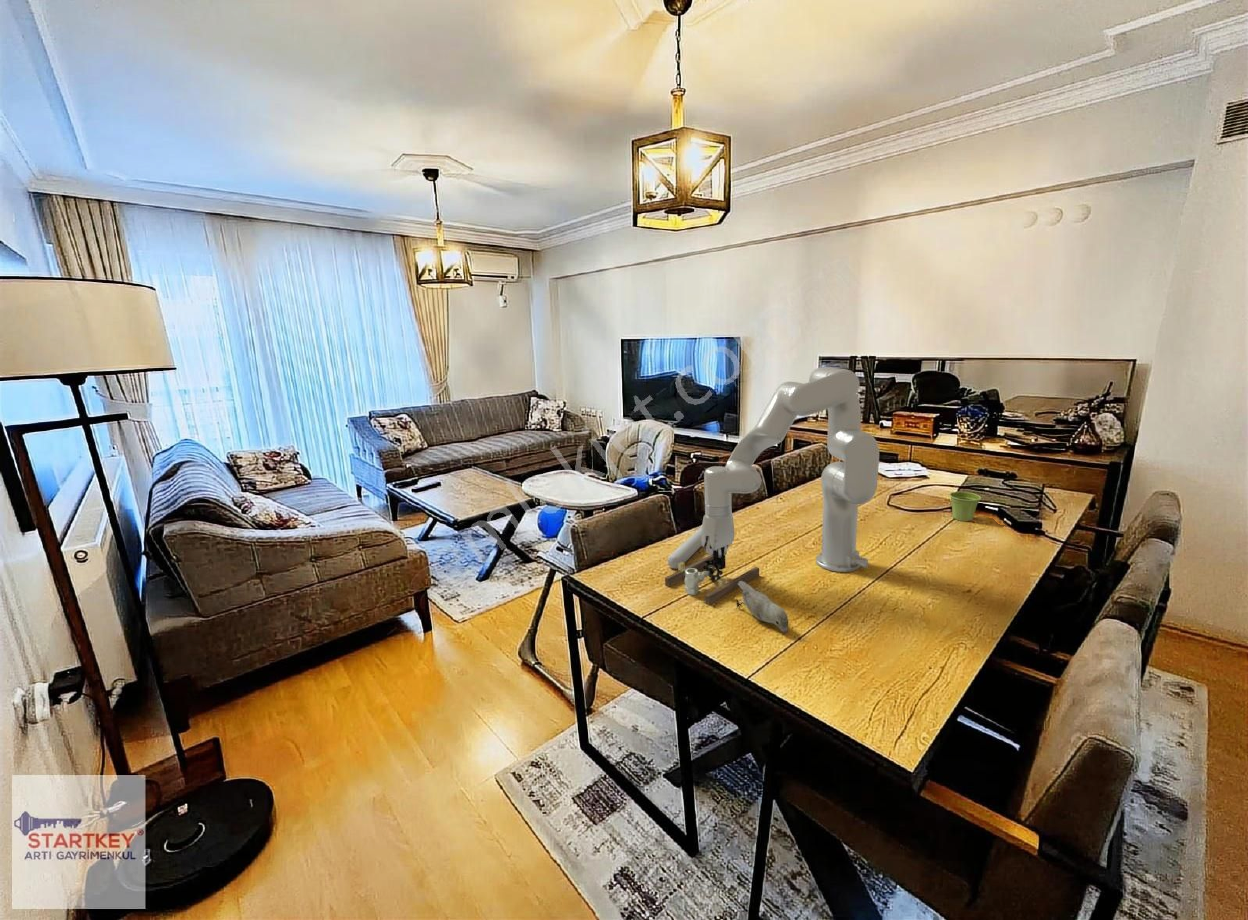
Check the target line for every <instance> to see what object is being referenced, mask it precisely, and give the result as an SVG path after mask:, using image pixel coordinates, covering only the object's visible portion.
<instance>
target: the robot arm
mask: <svg viewBox="0 0 1248 920" xmlns="http://www.w3.org/2000/svg"><path fill="white" fill-rule="evenodd" d="M808 379H809V380H808V382H803V383H802V382H798V381H786V382H785V381H784V382H782V383H781V384H780V385H779V386H778V387H777V388H776V389H775V392H774V393H773V395H772V396H771V398H770V400H769V402H768V404H767V405H766V406H765V409H764V410H763V413H762V414H761V415H760V417H759V419H758V421H757V423H756V424H755V426H754V427H753V429H751V430H750V431H749V432H748V433H747V434H746V435H745V436H744V437H743V438H742V439H741V440H740V441H739V442H738V443H737V444H736V446H735V447H734V449H733V451H732V452H731V455H730V456H729V458H728V460H727V462H726V464H725V466H722V465H721V466H720V465H719V466H715V465H714V466H710V467H708V468H706V469H705V471H704V473H703V478H704V481H703V482H704V483H703V484H704V511H705V512H704V513H705V514H704V515H703V519H702V524H701V525H702V526H701V528H702V546H701V547H702V548H705V554H706V555H708V556H710V555H713V559H714V560H715V564H720V565H721V567H719V570H720V571H723V569H726V568H727V567H726V555H727V553H728V548H729V547H730V546H731V545H732V544H733V542H734V541H735V525H734V524H735V521H734V516H733V512H732V511H733V510H732V494H752V493H754V492H756V491H758V490H759V489H760V487H761V485H762V476H761V475H760V473H759V472H758V470H756V469H755V468H754V467H752V466H753V464H754V463H755V461H756V459H757V458H758V457H759V455H760V454H761V453H762V452H764V451H765V450H767V449H768V448H771V447H774V446H776V445H778V444H780V443H781V442H783V441H784V439H785V437H786V436H787V434H788V432H789V430H790V429H791V427H792V425H793V424H794V422H795V420H796V419H797V417H799V416H800V417H806V416H811V415H814V414H818V413H820V412H822V411H825V410H827V414H828V415H827V417H828V418H827V419H828V421H827V423H828V424H827V439H826V440H827V443H826V447H827V451H828V452H829V454H830V455H831V456H833V457H834V458H836V459H838V460H840V461H834V462H831V463H829V464H828V465H827V466H825V467H824V469H823V470H822V472H821V477H820V484H821V485H820V486H821V492H822V505H823V506H822V527H821V528H822V534H821V552H820V553H818V554H817V555H816V556H815V563H816V564H817V565H818V566H820V567H821V568H823V569H825V570H829V571H832V572H838V573H849V572H854V571H857V570H859V569H860V568H865V569H867V568H868V567H869V561H868V560H869V559H868V558H867V557H862V556H861V555H860V550H857V549H856V548H857V532H858V515H859V514H858V513H859V507H858V506H859V505H865V504H867V503H868V502H870V501H871V500H872V499H873V498H874V496H875V495H876V491H877V487H878V480H879V479H878V477H879V465H880V464H879V463H880V449H879V444H878V442H877V439H876V438H875V437H874V436H873V435H872V434H871V433H868V432H866V431H862V427H861V423H862V422H861V421H862V418H861V417H862V416H861V404H860V400H859V397H858V395H857V393H858V391H859V388H860V379H859V377H858V375H857V374H856V373H855V372H853V370H850V369H846V368H838V367H831V366H821V367H818V368H815V369H813V371H812V372H811V373H810V375H809V378H808ZM713 567H714V568H715V566H713Z"/></svg>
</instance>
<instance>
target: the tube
mask: <svg viewBox="0 0 1248 920" xmlns="http://www.w3.org/2000/svg"><path fill="white" fill-rule="evenodd" d="M701 547H702V526H701V527H700V526H699V527H698V529H696V531H695V532H694V533H693V534H692V535H690V536H689V537H688V538H687V539H686V540H685V541H684V542H683V543H682V544H681V545H680V546H679V547H678V548H676V549H675V550H674V551H673V552H672V553H670V555H669V556H668V558H667V564H668V566H669V567H670V568H671V569H675V570H678V563H680V562H683V563H685V564H686V562H687V561H688V560H689V559H690V558H691V557H692V556H694V554H695V553H696V552H697V551H698V550H699V549H700V548H701Z"/></svg>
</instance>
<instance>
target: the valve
mask: <svg viewBox="0 0 1248 920" xmlns="http://www.w3.org/2000/svg"><path fill="white" fill-rule="evenodd" d="M705 563H707V565H705V566H703V568H704V569H703V570H704V571H698V570H697V569H695V568H688V569H686V570H685V576H686V577H685V578H684V579H683V580H684V585H685V593H686V594H687V595H689V596H695V595H698V593H700V590H699V589H700V587H699V585H700V584H702V583H703V582H704V581H705V578H707V577H709V578H710V580H711V581H712V582H714V581H719V579H721V578H722V577H721V575H723V574H724V572H723V570H720V569H719V567H721V565H720V564H715V560H714V559H712V560H711V561H709V560H706V561H705ZM710 566H711V567H710ZM714 566H715V567H714ZM715 573H716V574H715Z"/></svg>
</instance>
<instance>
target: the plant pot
mask: <svg viewBox="0 0 1248 920" xmlns="http://www.w3.org/2000/svg"><path fill="white" fill-rule="evenodd" d="M949 497H950V500H951V511H952V512H951V513H952V514H951V516H952V518H953V519H954V520H957V521H960V522H968V521H970V522H971V521H973V519H974V516H975V512H976V509H977V506H978V504H979V502H980V500H982V496H981V495H978V494H976V493H973V492H968V491H954V492H950V493H949Z"/></svg>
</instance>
